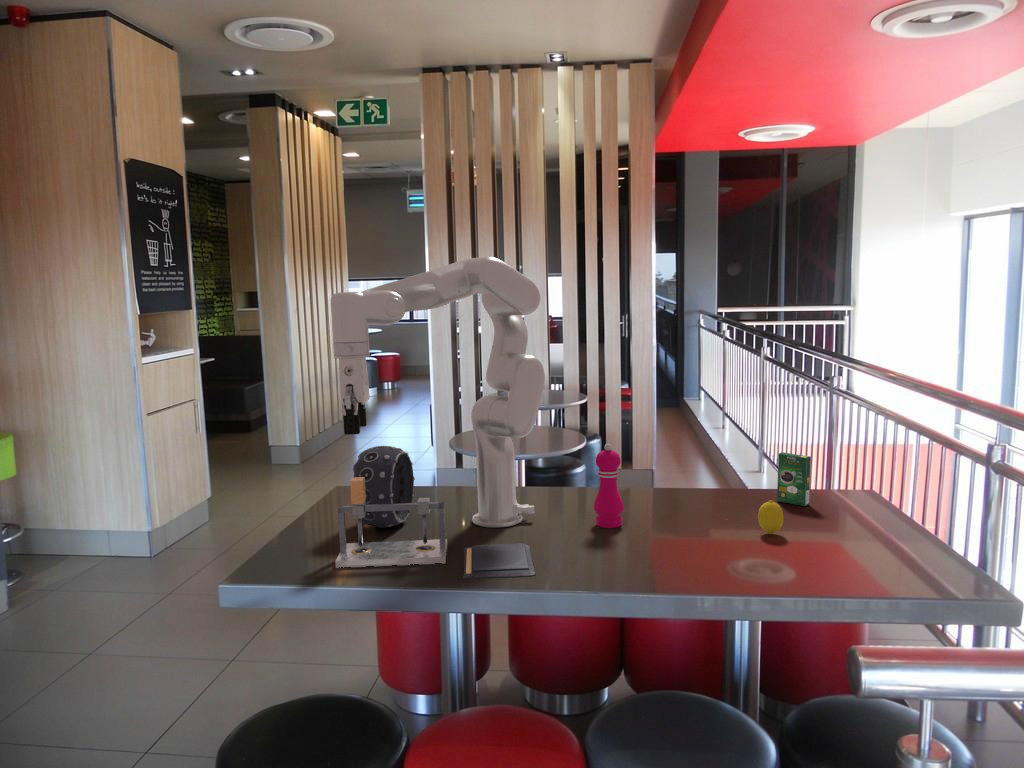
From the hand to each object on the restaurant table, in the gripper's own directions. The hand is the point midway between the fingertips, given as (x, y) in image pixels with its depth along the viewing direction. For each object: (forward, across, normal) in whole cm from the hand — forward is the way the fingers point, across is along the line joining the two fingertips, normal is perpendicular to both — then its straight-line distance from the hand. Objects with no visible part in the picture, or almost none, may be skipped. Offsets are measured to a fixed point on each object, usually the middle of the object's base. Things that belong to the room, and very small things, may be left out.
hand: (355, 430), depth 164 cm
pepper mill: (+29, +17, -57) cm, 66 cm away
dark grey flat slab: (+29, -6, -29) cm, 42 cm away
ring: (+28, +24, -2) cm, 37 cm away
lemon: (+29, +4, -92) cm, 97 cm away
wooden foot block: (+26, 0, 0) cm, 26 cm away
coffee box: (+29, +29, -108) cm, 116 cm away
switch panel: (+28, 0, -7) cm, 29 cm away
